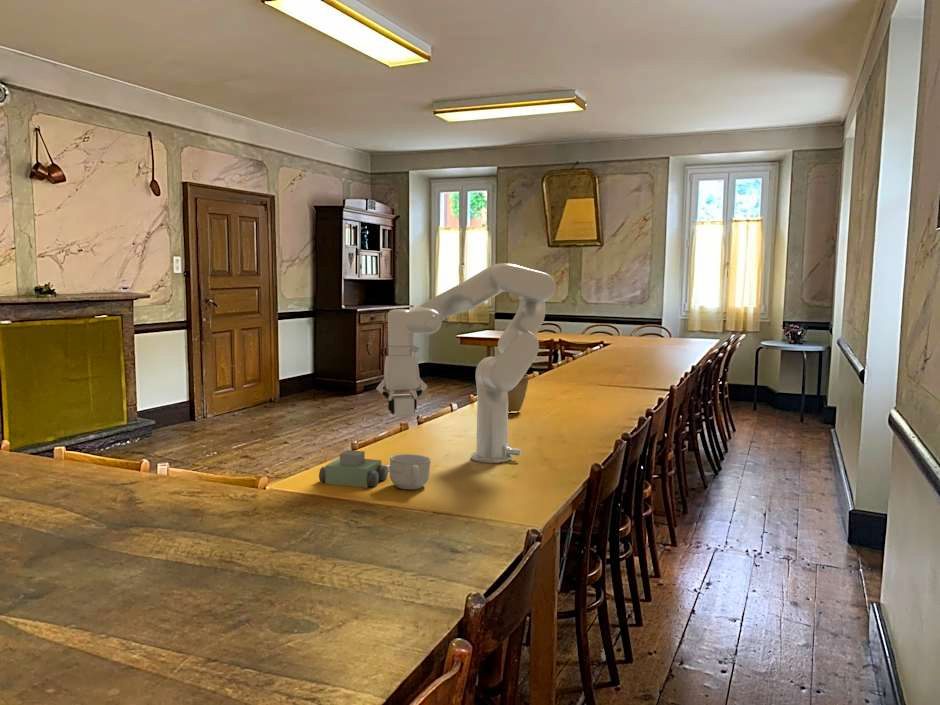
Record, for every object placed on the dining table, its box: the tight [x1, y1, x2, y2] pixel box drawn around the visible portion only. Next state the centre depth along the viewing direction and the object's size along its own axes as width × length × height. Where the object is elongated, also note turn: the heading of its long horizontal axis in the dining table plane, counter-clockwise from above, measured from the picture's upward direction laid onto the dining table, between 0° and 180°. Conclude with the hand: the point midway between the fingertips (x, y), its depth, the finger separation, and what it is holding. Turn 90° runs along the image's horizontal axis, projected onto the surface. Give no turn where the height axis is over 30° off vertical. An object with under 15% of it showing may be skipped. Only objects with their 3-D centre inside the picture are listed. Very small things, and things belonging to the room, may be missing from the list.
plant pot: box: [507, 373, 530, 412], centre depth 302 cm, size 15×15×16 cm
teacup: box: [389, 453, 432, 490], centre depth 189 cm, size 14×11×8 cm
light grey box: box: [392, 393, 415, 418], centre depth 212 cm, size 6×7×6 cm
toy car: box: [318, 449, 390, 489], centre depth 200 cm, size 16×19×8 cm
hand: (402, 411), depth 212 cm, fingers closed on light grey box, 5 cm apart
